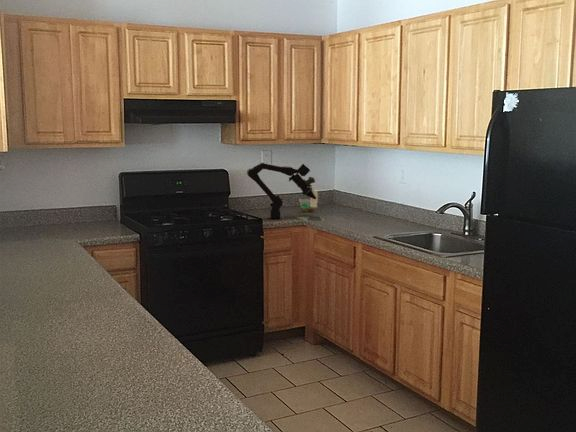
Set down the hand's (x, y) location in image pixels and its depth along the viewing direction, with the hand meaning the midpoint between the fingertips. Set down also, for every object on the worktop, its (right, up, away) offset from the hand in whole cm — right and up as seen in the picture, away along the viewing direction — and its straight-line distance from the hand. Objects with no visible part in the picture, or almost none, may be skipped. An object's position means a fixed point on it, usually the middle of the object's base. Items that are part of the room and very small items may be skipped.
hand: (315, 198), depth 436 cm
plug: (-1, -6, +1) cm, 7 cm away
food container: (-6, -10, +26) cm, 28 cm away
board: (-3, -14, -4) cm, 15 cm away
